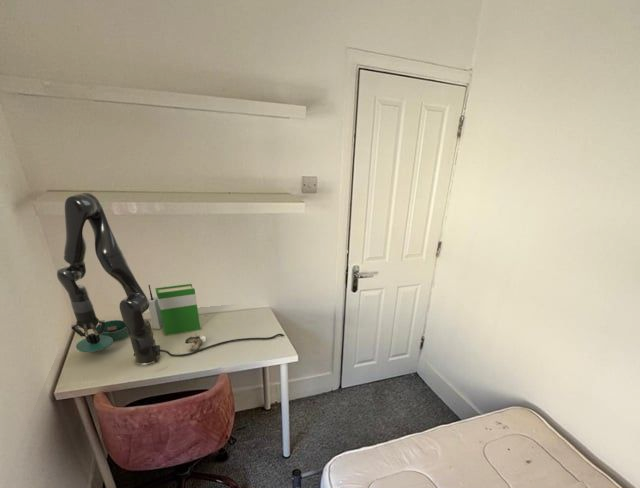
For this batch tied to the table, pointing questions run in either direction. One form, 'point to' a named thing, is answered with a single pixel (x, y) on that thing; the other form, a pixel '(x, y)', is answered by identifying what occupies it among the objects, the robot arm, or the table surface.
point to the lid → (94, 343)
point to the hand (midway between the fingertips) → (94, 341)
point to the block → (112, 329)
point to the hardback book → (178, 308)
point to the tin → (118, 334)
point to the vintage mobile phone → (155, 312)
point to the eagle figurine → (197, 341)
